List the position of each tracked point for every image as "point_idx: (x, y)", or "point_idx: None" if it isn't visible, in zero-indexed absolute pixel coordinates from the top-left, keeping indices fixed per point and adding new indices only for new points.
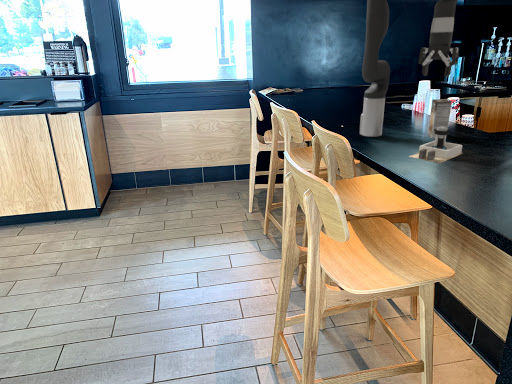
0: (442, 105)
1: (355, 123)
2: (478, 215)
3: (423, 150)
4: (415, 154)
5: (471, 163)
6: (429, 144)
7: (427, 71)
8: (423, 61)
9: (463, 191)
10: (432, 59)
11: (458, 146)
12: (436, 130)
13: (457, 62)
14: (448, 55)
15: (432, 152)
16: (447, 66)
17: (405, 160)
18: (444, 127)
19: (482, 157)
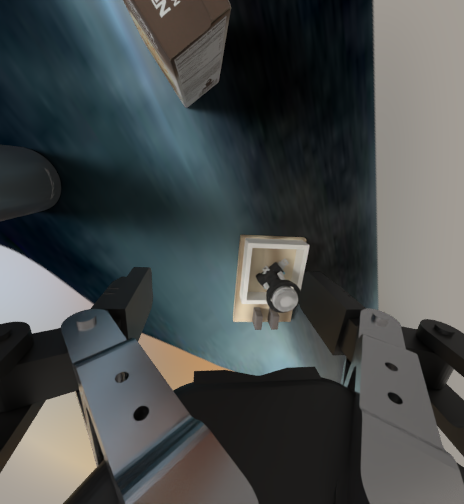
0: (195, 47)
1: None
2: None
3: (261, 326)
4: (237, 304)
5: (325, 271)
6: (248, 272)
7: (143, 286)
8: (46, 387)
9: (337, 377)
10: (143, 362)
11: (305, 261)
12: (276, 310)
13: (459, 336)
14: (427, 398)
15: (277, 325)
16: (346, 348)
17: (231, 324)
18: (291, 301)
19: (336, 221)
